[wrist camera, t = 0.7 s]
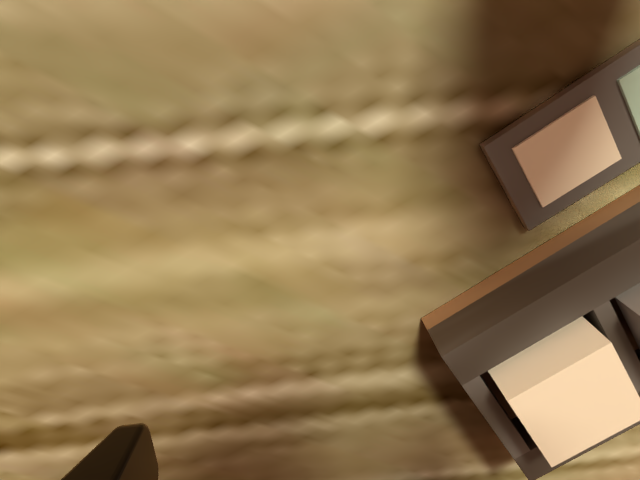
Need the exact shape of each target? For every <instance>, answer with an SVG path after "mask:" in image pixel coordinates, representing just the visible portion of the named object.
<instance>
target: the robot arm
mask: <svg viewBox="0 0 640 480" xmlns="http://www.w3.org/2000/svg"><path fill="white" fill-rule="evenodd" d="M61 480H158V463H157V459H156V455H155V451H154V447H153V443H152V439H151V435H150V431H149V428H148V427H147V425H145V424H143V423H139V424H130V425H122V426H119V427H117V428H116V429H114V430H113V431H112V432H111V433H110V434H109V435H108V436H107V437H106V438H105V439H104V440H102V441H101V442H100V443H99V444H98V445H97V446H96V447H95V448H94V449H93V450H92V451H91V452H90V453H89V454H88V455H87V456H86V457H84V458H83V459H82V460H81V461H80V462H79V463H78V464H77V465H76V466H75V467H74V468H73V469H72V470H71V471H70V472H69V473H67V474H66V475H65V476H64V477H63V478H62V479H61Z"/></svg>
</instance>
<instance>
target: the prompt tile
mask: <svg viewBox="0 0 640 480" xmlns="http://www.w3.org/2000/svg"><path fill="white" fill-rule="evenodd" d="M479 145H480V147H481V149H482V151H483V152H484V154H485V156H486V158H487V160H488V162H489V163H490V165H491V167H492V169H493V171H494V173H495V175H496V176H497V178H498V180H499V182H500V184H501V186H502V187H503V189H504V191H505V193H506V195H507V197H508V199H509V200H510V202H511V204H512V206H513V208H514V210H515V211H516V213H517V215H518V217H519V219H520V221H521V223H522V224H523V226H524V227H525V228H526V229H528V230H531V229H533V228H534V227H536V226H537V225H539V224H541V223H542V222H544V221H546V220H547V219H549V218H550V217H552V216H554V215H555V214H557V213H558V212H560V211H562V210H563V209H565V208H567V207H568V206H570V205H571V204H573V203H575V202H576V201H578V200H580V199H581V198H583V197H584V196H586V195H588V194H589V193H591V192H592V191H594V190H596V189H597V188H599V187H601V186H602V185H604V184H605V183H607V182H609V181H610V180H612V179H613V178H615V177H617V176H618V175H620V174H622V173H623V172H625V171H626V170H628V169H630V168H631V167H633V166H635V165H636V164H638V163H639V162H640V39H639V40H637V41H636V42H634V43H633V44H631V45H630V46H628V47H627V48H625V49H624V50H622V51H621V52H619V53H618V54H616V55H615V56H613V57H612V58H610V59H608V60H607V61H605V62H604V63H602V64H601V65H599V66H598V67H596V68H595V69H593V70H592V71H590V72H589V73H587V74H586V75H584V76H583V77H581V78H580V79H578V80H577V81H575V82H574V83H572V84H571V85H569V86H567V87H566V88H564V89H563V90H561V91H560V92H558V93H557V94H555V95H554V96H552V97H551V98H549V99H548V100H546V101H545V102H543V103H542V104H540V105H539V106H537V107H536V108H534V109H533V110H531V111H529V112H528V113H526V114H525V115H523V116H522V117H520V118H519V119H517V120H516V121H514V122H513V123H511V124H510V125H508V126H507V127H505V128H504V129H502V130H501V131H499V132H498V133H496V134H495V135H493V136H492V137H490V138H488V139H487V140H485V141H484V142H482V143H481V144H479Z"/></svg>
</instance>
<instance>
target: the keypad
mask: <svg viewBox="0 0 640 480" xmlns="http://www.w3.org/2000/svg"><path fill="white" fill-rule="evenodd" d="M639 283H640V185H639V186H637V187H635V188H634V189H632V190H631V191H629V192H627V193H626V194H624V195H622V196H621V197H619V198H617V199H616V200H614V201H613V202H611V203H609V204H608V205H606V206H604V207H603V208H601V209H599V210H598V211H596V212H595V213H593V214H591V215H590V216H588V217H586V218H585V219H583V220H581V221H580V222H578V223H577V224H575V225H573V226H572V227H570V228H568V229H567V230H565V231H563V232H562V233H560V234H559V235H557V236H555V237H554V238H552V239H550V240H549V241H547V242H545V243H544V244H542V245H541V246H539V247H537V248H536V249H534V250H532V251H531V252H529V253H527V254H526V255H524V256H523V257H521V258H519V259H518V260H516V261H514V262H513V263H511V264H509V265H508V266H506V267H505V268H503V269H501V270H500V271H498V272H496V273H495V274H493V275H491V276H490V277H488V278H487V279H485V280H483V281H482V282H480V283H478V284H477V285H475V286H473V287H472V288H470V289H469V290H467V291H465V292H464V293H462V294H460V295H459V296H457V297H455V298H454V299H452V300H451V301H449V302H447V303H446V304H444V305H442V306H441V307H439V308H437V309H436V310H434V311H433V312H431V313H429V314H428V315H426V316H424V317H423V318H421V319H422V321H423V323H424V325H425V327H426V329H427V331H428V333H429V334H430V336H431V338H432V340H433V342H434V344H435V346H436V348H437V350H438V352H439V354H440V355H441V357H442V359H443V360H444V361H445V363H446V364H447V366H448V367H449V368H450V370H451V371H452V373H453V374H454V376H455V377H456V378H457V380H458V381H459V383H460V384H461V385H462V387H463V388H464V390H465V391H466V392H467V394H468V395H469V397H470V398H471V399H472V401H473V402H474V404H475V405H476V407H477V408H478V409H479V411H480V412H481V414H482V415H483V416H484V418H485V419H486V421H487V422H488V423H489V425H490V426H491V428H492V429H493V430H494V432H495V433H496V435H497V436H498V437H499V439H500V440H501V442H502V443H503V445H504V446H505V447H506V449H507V450H508V452H509V453H510V454H511V456H512V457H513V459H514V460H515V461H516V463H517V464H518V466H519V467H520V468H521V470H522V471H523V473H524V474H525V476H526V477H527V478H528V480H536V479H537V478H539V477H541V476H543V475H545V474H547V473H549V472H551V471H552V470H554V469H556V468H558V467H560V466H562V465H564V464H566V463H567V462H569V461H571V460H573V459H575V458H577V457H579V456H581V455H582V454H584V453H586V452H588V451H590V450H592V449H594V448H596V447H597V446H599V445H601V444H603V443H605V442H607V441H609V440H611V439H612V438H614V437H616V436H618V435H620V434H622V433H624V432H626V431H628V430H629V429H631V428H633V427H635V426H637V425H639V424H640V421H638V422H636V423H634V424H632V425H631V426H629V427H627V428H625V429H623V430H621V431H619V432H618V433H616V434H614V435H612V436H610V437H608V438H606V439H604V440H603V441H601V442H599V443H597V444H595V445H593V446H591V447H589V448H588V449H586V450H584V451H582V452H580V453H578V454H576V455H574V456H573V457H571V458H569V459H567V460H565V461H563V462H561V463H559V464H558V465H556V466H554V467H551V466H550V464H549V463H548V461H547V460H546V458H545V457H544V455H543V454H542V452H541V451H540V449H539V448H538V446H537V445H536V443H535V442H534V440H533V439H532V437H531V436H530V434H529V433H528V431H527V430H526V428H525V427H524V425H523V424H522V422H521V421H520V419H519V418H518V416H517V415H516V413H515V412H514V410H513V409H512V407H511V406H510V405H509V403H508V402H507V400H506V398H505V397H504V395H503V394H502V392H501V391H500V389H499V388H498V386H497V384H496V383H495V381H494V380H493V378H492V377H491V375H490V374H489V372H488V370H490V369H492V368H493V367H495V366H497V365H499V364H500V363H502V362H504V361H506V360H507V359H509V358H511V357H512V356H514V355H516V354H518V353H519V352H521V351H523V350H525V349H526V348H528V347H530V346H531V345H533V344H535V343H537V342H538V341H540V340H542V339H544V338H545V337H547V336H549V335H550V334H552V333H554V332H556V331H557V330H559V329H561V328H563V327H564V326H566V325H568V324H569V323H571V322H573V321H575V320H576V319H578V318H580V317H582V316H583V317H584V318H585V319H586V320H587V321H588V322H589V323H590V324H591V325H593V326H594V327H595V328H596V329H597V330H598V331H599V332H600V333H601V334H603V335H604V336H605V337H606V338H607V339H608V340H609V341H610V342H611V343H612V345H613V347H614V349H615V350H616V352H617V354H618V356H619V358H620V360H621V362H622V364H623V366H624V368H625V370H626V372H627V374H628V376H629V378H630V380H631V382H632V383H633V385H634V387H635V389H636V391H637V393H638V395H639V397H640V349H639V347H638V345H637V343H636V341H635V338H634V336H633V334H632V332H631V330H630V328H629V326H628V324H627V322H626V320H625V318H624V316H623V314H622V312H621V310H620V308H619V306H618V304H617V302H616V300H615V297H616V296H618V295H620V294H621V293H623V292H625V291H626V290H628V289H630V288H632V287H633V286H635V285H637V284H639Z"/></svg>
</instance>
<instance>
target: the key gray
mask: <svg viewBox="0 0 640 480" xmlns="http://www.w3.org/2000/svg"><path fill="white" fill-rule="evenodd" d="M615 300H616V302H617V304H618V306H619V308H620V310H621V312H622V314H623V316H624V318H625V320H626V322H627V324H628V326H629V328H630V330H631V332H632V334H633V336H634V338H635V341H636V343H637V345H638V347H639V349H640V283H639V284H637V285H635V286H633V287H632V288H630V289H628V290H626V291H625V292H623V293H621V294H620V295H618V296H616V297H615Z"/></svg>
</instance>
